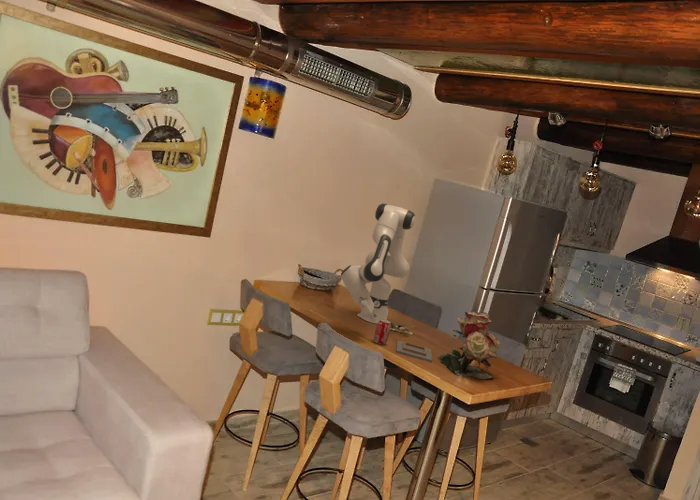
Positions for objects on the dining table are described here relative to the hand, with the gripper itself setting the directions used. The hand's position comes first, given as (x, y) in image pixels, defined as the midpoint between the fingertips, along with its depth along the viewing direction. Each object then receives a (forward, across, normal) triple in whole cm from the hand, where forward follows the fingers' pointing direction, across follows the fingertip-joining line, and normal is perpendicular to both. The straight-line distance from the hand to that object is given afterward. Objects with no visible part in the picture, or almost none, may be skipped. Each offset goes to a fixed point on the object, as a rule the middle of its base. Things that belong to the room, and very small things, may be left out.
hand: (375, 319), depth 315 cm
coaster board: (+24, +2, -8) cm, 26 cm away
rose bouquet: (+44, -3, -28) cm, 52 cm away
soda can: (+12, 0, +4) cm, 13 cm away
